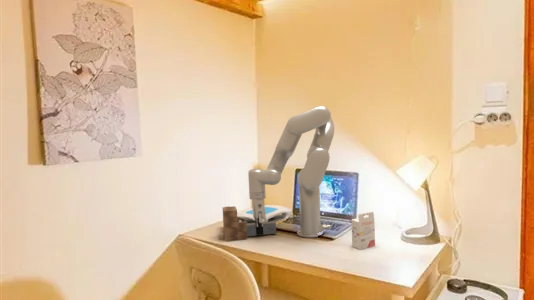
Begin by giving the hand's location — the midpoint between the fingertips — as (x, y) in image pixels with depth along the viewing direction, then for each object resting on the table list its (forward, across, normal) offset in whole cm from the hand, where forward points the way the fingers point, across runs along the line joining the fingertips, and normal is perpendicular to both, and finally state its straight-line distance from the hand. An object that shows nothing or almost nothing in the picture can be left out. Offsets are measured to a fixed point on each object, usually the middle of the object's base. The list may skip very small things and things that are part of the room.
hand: (259, 233), depth 180 cm
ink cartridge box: (+2, -28, -40) cm, 49 cm away
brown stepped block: (+1, +7, +11) cm, 13 cm away
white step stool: (+2, +24, -6) cm, 25 cm away
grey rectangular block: (0, 0, 0) cm, 0 cm away
